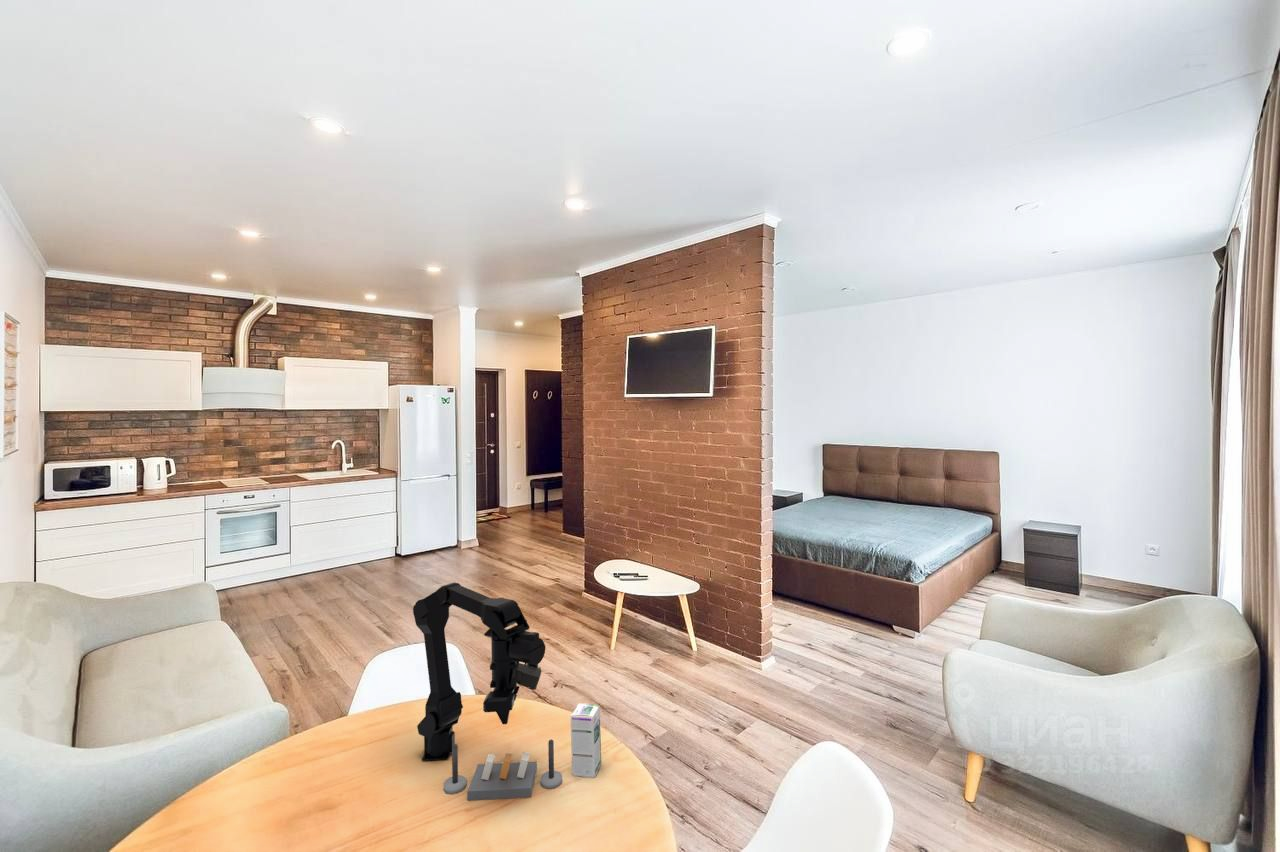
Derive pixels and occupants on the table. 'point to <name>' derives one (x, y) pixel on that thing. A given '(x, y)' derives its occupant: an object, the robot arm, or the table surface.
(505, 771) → the orange rectangular block
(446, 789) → the stand
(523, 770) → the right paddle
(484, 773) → the left paddle
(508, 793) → the panel
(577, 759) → the syrup box
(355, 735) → the table surface
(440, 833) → the table surface
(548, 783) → the stand
